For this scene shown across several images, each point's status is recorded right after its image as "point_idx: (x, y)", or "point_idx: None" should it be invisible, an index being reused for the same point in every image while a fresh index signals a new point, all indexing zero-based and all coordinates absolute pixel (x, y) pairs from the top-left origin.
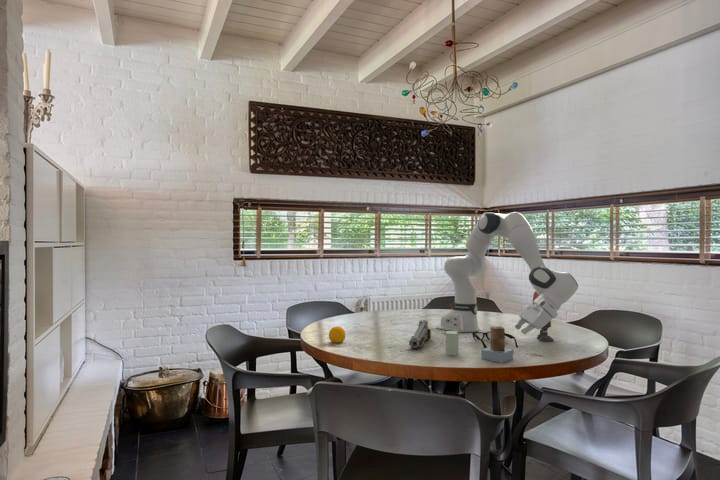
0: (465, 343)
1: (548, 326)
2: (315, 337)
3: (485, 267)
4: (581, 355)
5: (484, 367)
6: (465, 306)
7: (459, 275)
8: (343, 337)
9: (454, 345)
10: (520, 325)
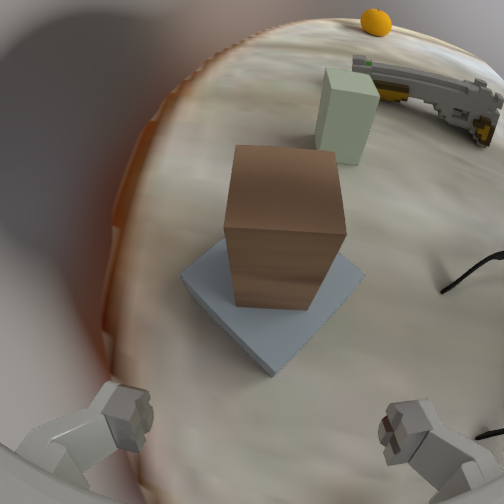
0: (490, 229)
1: None
2: (393, 28)
3: None
4: None
5: (137, 207)
6: None
7: None
8: (370, 26)
9: (321, 122)
10: (417, 459)
